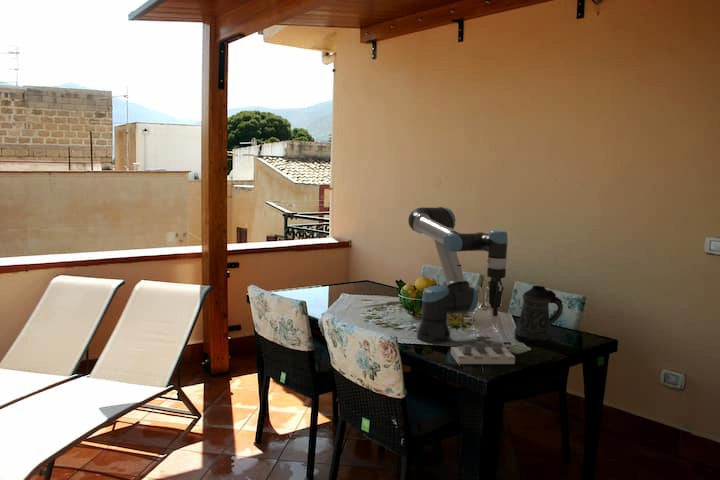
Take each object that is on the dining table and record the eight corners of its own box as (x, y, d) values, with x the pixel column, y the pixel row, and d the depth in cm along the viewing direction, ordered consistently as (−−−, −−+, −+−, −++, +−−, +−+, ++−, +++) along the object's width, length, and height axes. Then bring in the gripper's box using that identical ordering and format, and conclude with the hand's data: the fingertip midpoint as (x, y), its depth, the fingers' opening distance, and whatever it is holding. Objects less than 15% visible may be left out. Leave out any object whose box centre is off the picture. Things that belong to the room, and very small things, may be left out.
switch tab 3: (491, 349, 248) (492, 341, 247) (498, 349, 248) (499, 341, 247) (494, 352, 244) (495, 343, 243) (502, 352, 244) (502, 344, 243)
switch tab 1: (461, 353, 242) (462, 344, 241) (469, 353, 242) (469, 344, 242) (464, 356, 238) (464, 347, 237) (471, 356, 238) (472, 347, 238)
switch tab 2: (475, 349, 247) (476, 341, 246) (482, 349, 247) (483, 341, 247) (478, 352, 243) (478, 343, 243) (485, 352, 243) (485, 343, 243)
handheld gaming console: (502, 339, 268) (531, 347, 257) (502, 342, 268) (531, 351, 257) (489, 343, 262) (517, 351, 250) (488, 346, 262) (517, 355, 250)
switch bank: (450, 353, 248) (450, 346, 248) (504, 353, 250) (504, 346, 250) (458, 363, 236) (458, 356, 235) (514, 364, 238) (515, 356, 237)
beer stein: (506, 336, 277) (510, 283, 274) (541, 333, 284) (545, 282, 281) (528, 346, 261) (532, 291, 258) (564, 343, 268) (568, 289, 265)
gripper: (483, 265, 255) (480, 318, 257) (492, 270, 242) (489, 326, 244) (500, 265, 255) (497, 319, 258) (510, 270, 242) (507, 326, 245)
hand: (493, 322), depth 251 cm, fingers closed
